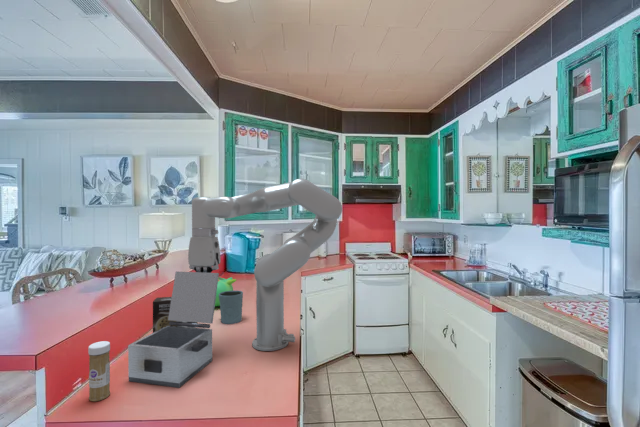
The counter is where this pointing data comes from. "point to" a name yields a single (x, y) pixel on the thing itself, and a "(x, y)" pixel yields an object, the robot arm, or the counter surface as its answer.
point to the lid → (193, 299)
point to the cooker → (170, 356)
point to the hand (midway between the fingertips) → (204, 286)
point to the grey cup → (231, 306)
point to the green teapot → (223, 287)
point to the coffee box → (161, 313)
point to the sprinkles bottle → (99, 370)
